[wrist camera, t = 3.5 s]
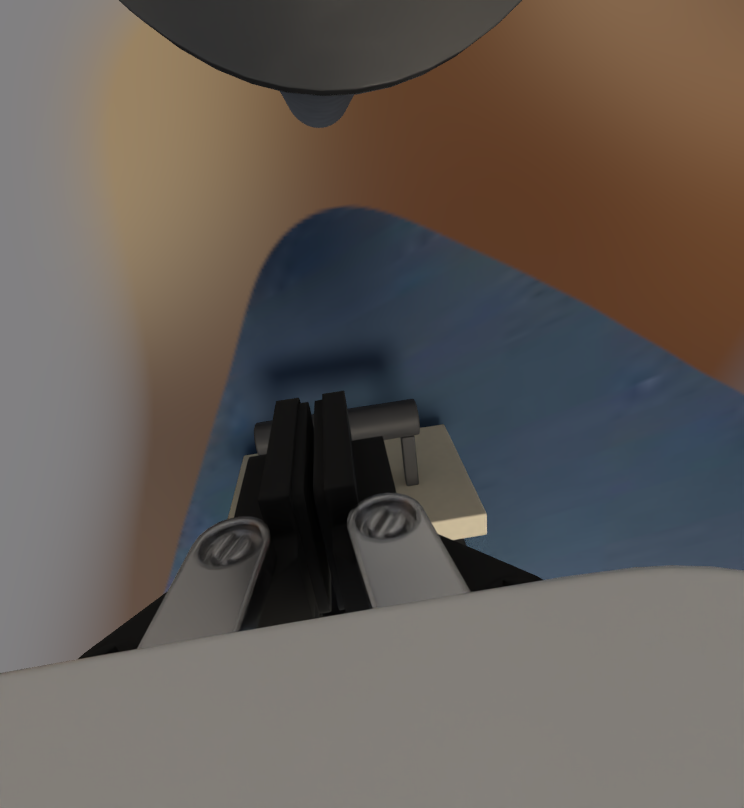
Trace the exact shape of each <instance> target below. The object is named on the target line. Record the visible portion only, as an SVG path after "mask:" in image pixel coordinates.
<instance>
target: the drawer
mask: <svg viewBox="0 0 744 808" xmlns="http://www.w3.org/2000/svg"><path fill="white" fill-rule="evenodd" d="M347 411H348V417H349V423H350V429H351V435H352V441H353V440H359V439H365V438H372V437H378V436H383V439H384V443H385V447H386V451H387V456H388V460H389V464H390V468H391V472H392V476H393V480H394V485H395V489H396V493H399V494H403V495H407V496H410V497H411V498H413V499H415V500H417V501H418V502H419V503H420V505H421V506H422V507H423V508H424V510H425V512H426V514H427V516H428V517H429V519H430V521H431V523H432V524H433V526H434V528H435V530H436V531H437V533H438V534H440V535H442V536H444V537H447V538H449V539H451V540H454V541H456V542H458V543H461V544H463V545H465V546H466V543H465V540H464V538H468V537H474V536H480V535H486V534H487V514H486V512H485V509H484V507H483V505H482V503H481V501H480V499H479V497H478V495H477V493H476V491H475V488H474V486H473V484H472V482H471V480H470V478H469V476H468V474H467V472H466V470H465V467H464V465H463V463H462V461H461V459H460V457H459V455H458V453H457V451H456V449H455V447H454V444H453V442H452V440H451V438H450V436H449V434H448V432H447V430H446V428H445V426H444V425H443V424H442V425H436V426H430V427H423V428H420V422H419V415H418V410H417V406H416V403H415V401H414V399H408V400H402V401H396V402H389V403H383V404H376V405H370V406H363V407H357V408H350V409H347ZM311 416H312V421H313V426H314V414H312V415H311ZM271 426H272V421H266V422H260V423H256V424H255V428H254V438H255V445H256V450H257V454H251V455H245V456H244V457H243V461H242V465H241V469H240V473H239V477H238V481H237V485H236V489H235V493H234V497H233V501H232V505H231V508H230V512H229V516H228V519H230V518H234V515H235V511H236V506H237V502H238V498H239V494H240V490H241V486H242V482H243V478H244V474H245V470H246V466H247V462H248V459H249V457H251V456H258V455H264V454H266V453H267V448H268V443H269V437H270V432H271ZM345 613H346V612H345V609H344V610H339V609H338V605H337V600H336V596H335V591H334V587H333V582H332V577H331V612H327V613H322V617H327V616H333V615H339V614H345Z"/></svg>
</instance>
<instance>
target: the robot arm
mask: <svg viewBox="0 0 744 808" xmlns="http://www.w3.org/2000/svg"><path fill="white" fill-rule="evenodd" d="M331 577H332V582H333V587H334V591H335V596H336V600H337V605H338V609H339V610H344V609H345V612H346V613H345V614H339V615H333V616H327V617H322V613H327V612H331ZM0 808H744V571H743V570H735V569H727V568H719V567H711V566H676V565H669V566H652V567H635V568H627V569H619V570H612V571H604V572H597V573H589V574H582V575H574V576H567V577H560V578H554V579H548V580H543V579H541V578H539V577H537V576H535V575H533V574H531V573H528V572H526V571H524V570H521V569H519V568H517V567H514V566H512V565H510V564H507V563H505V562H503V561H500V560H498V559H496V558H493V557H491V556H489V555H486V554H484V553H482V552H479V551H477V550H475V549H472V548H470V547H468V546H465V545H463V544H461V543H458V542H456V541H454V540H451V539H449V538H447V537H444V536H442V535H440V534H438V533H437V531H436V530H435V528H434V526H433V524H432V523H431V521H430V519H429V517H428V516H427V514H426V512H425V510H424V508H423V507H422V506H421V505H420V503H419V502H418V501H417V500H415V499H413V498H411V497H410V496H407V495H403V494H399V493H396V489H395V485H394V480H393V476H392V472H391V468H390V464H389V460H388V456H387V451H386V447H385V443H384V439H383V436H378V437H372V438H365V439H359V440H353V441H352V435H351V429H350V423H349V417H348V411H347V405H346V399H345V393H344V391H339V392H332V393H326V394H322V400H318V401H315V408H314V426H313V421H312V416H311V411H310V407H309V403H308V402H305V403H301V402H300V399H299V398H294V399H287V400H281V401H276V405H275V410H274V416H273V421H272V426H271V432H270V437H269V443H268V448H267V453H266V454H264V455H258V456H251V457H249V459H248V462H247V466H246V470H245V474H244V478H243V482H242V486H241V490H240V494H239V498H238V502H237V506H236V511H235V515H234V518H230V519H227V520H224V521H221V522H219V523H217V524H215V525H213V526H212V527H210V528H208V529H207V530H206V531H205V532H203V533H202V534H201V535H200V536H199V537H198V538H197V539H196V541H195V542H194V544H193V545H192V547H191V549H190V550H189V552H188V554H187V556H186V558H185V560H184V562H183V564H182V565H181V567H180V569H179V571H178V573H177V575H176V577H175V579H174V580H173V582H172V584H171V586H170V588H169V590H168V592H166V593H165V594H163V595H162V596H161V597H159V598H158V599H157V600H155V601H154V602H153V603H151V604H150V605H149V606H147V607H146V608H145V609H143V610H142V611H141V612H139V613H138V614H137V615H135V616H134V617H133V618H131V619H130V620H129V621H127V622H126V623H124V624H123V625H122V626H120V627H119V628H118V629H116V630H115V631H114V632H112V633H111V634H110V635H108V636H107V637H106V638H104V639H103V640H102V641H100V642H99V643H97V644H96V645H95V646H93V647H92V648H91V649H89V650H88V651H87V652H85V653H84V654H83V655H82V656H81V657H80V658H79V659H77V660H72V661H66V662H60V663H55V664H49V665H43V666H38V667H32V668H26V669H21V670H15V671H9V672H4V673H0Z"/></svg>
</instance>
